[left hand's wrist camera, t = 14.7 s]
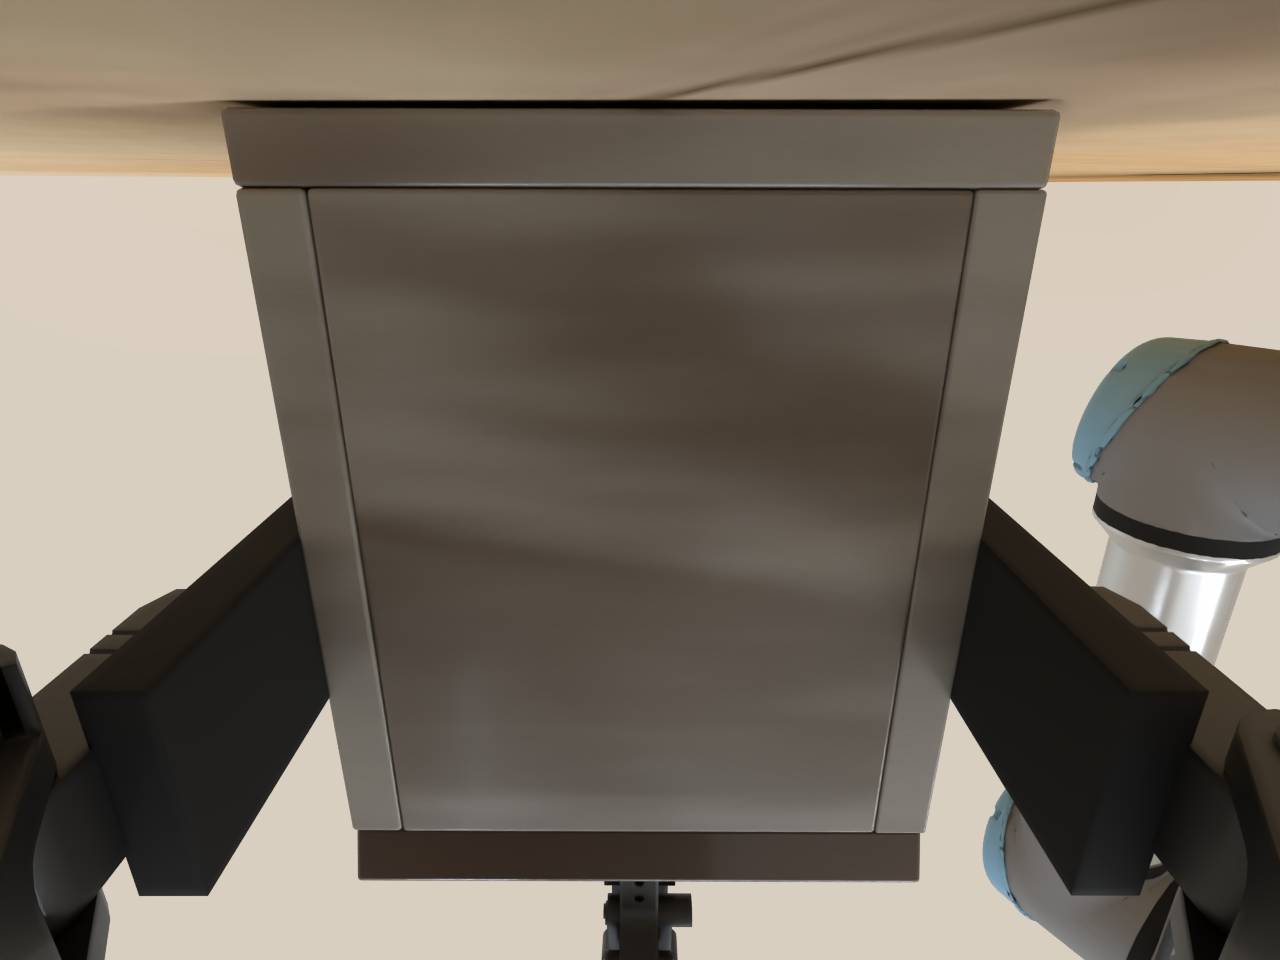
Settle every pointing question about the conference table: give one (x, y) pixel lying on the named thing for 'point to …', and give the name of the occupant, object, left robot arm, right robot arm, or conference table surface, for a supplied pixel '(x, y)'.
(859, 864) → the lid
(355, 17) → the conference table surface
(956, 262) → the chest
